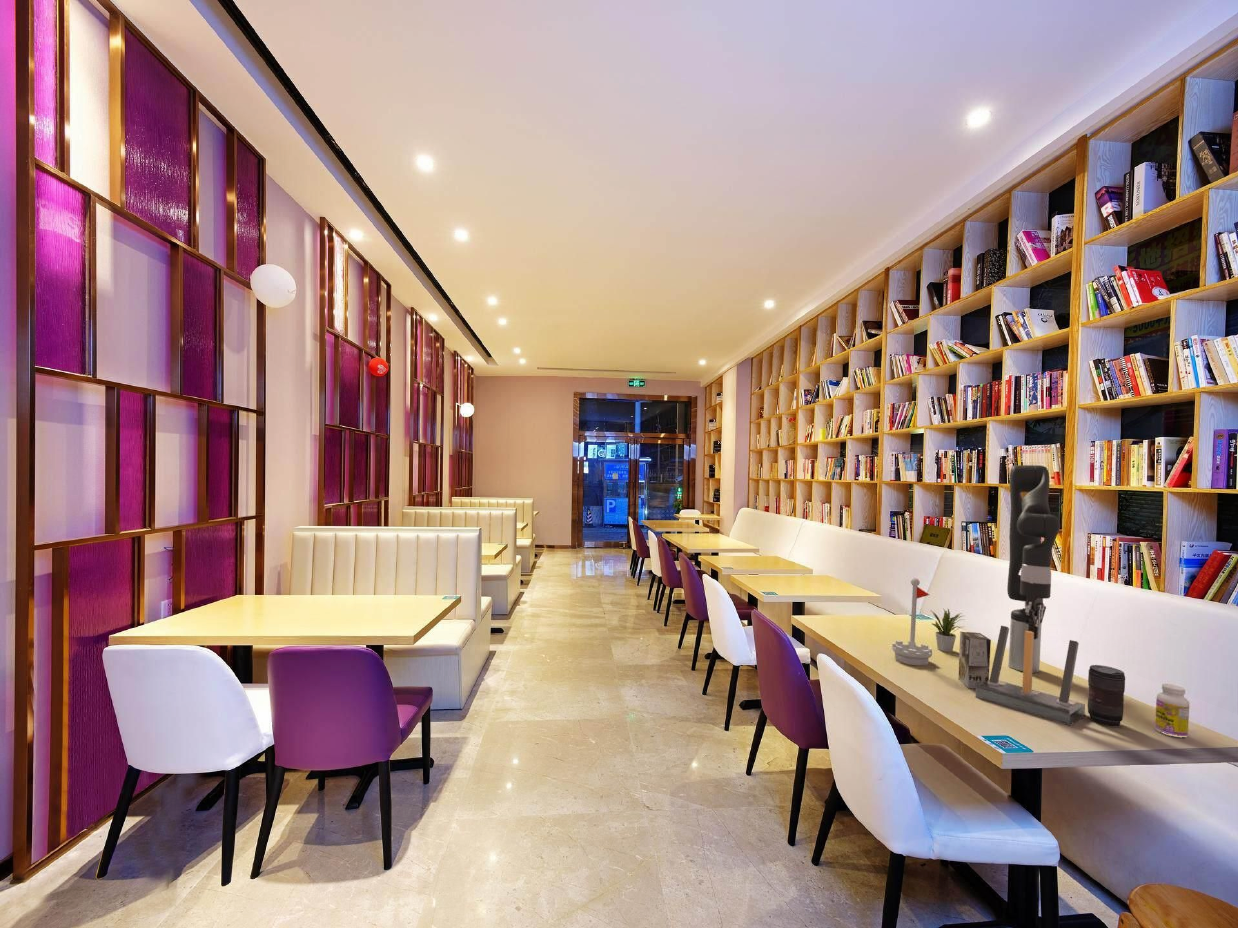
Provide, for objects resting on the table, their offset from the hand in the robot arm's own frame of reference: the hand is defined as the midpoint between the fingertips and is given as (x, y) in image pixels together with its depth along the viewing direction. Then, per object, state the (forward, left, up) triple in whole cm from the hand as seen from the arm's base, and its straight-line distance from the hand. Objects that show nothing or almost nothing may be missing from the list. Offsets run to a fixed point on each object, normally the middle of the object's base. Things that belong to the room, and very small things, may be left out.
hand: (1032, 638), depth 181 cm
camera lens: (-5, +17, -20) cm, 27 cm away
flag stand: (-13, -41, -20) cm, 48 cm away
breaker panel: (0, 0, -20) cm, 20 cm away
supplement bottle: (-12, +30, -20) cm, 38 cm away
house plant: (-39, -39, -20) cm, 59 cm away
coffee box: (-5, -17, -20) cm, 27 cm away
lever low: (+2, -9, -16) cm, 19 cm away
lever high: (+2, +9, -16) cm, 18 cm away
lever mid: (+2, 0, -16) cm, 16 cm away
